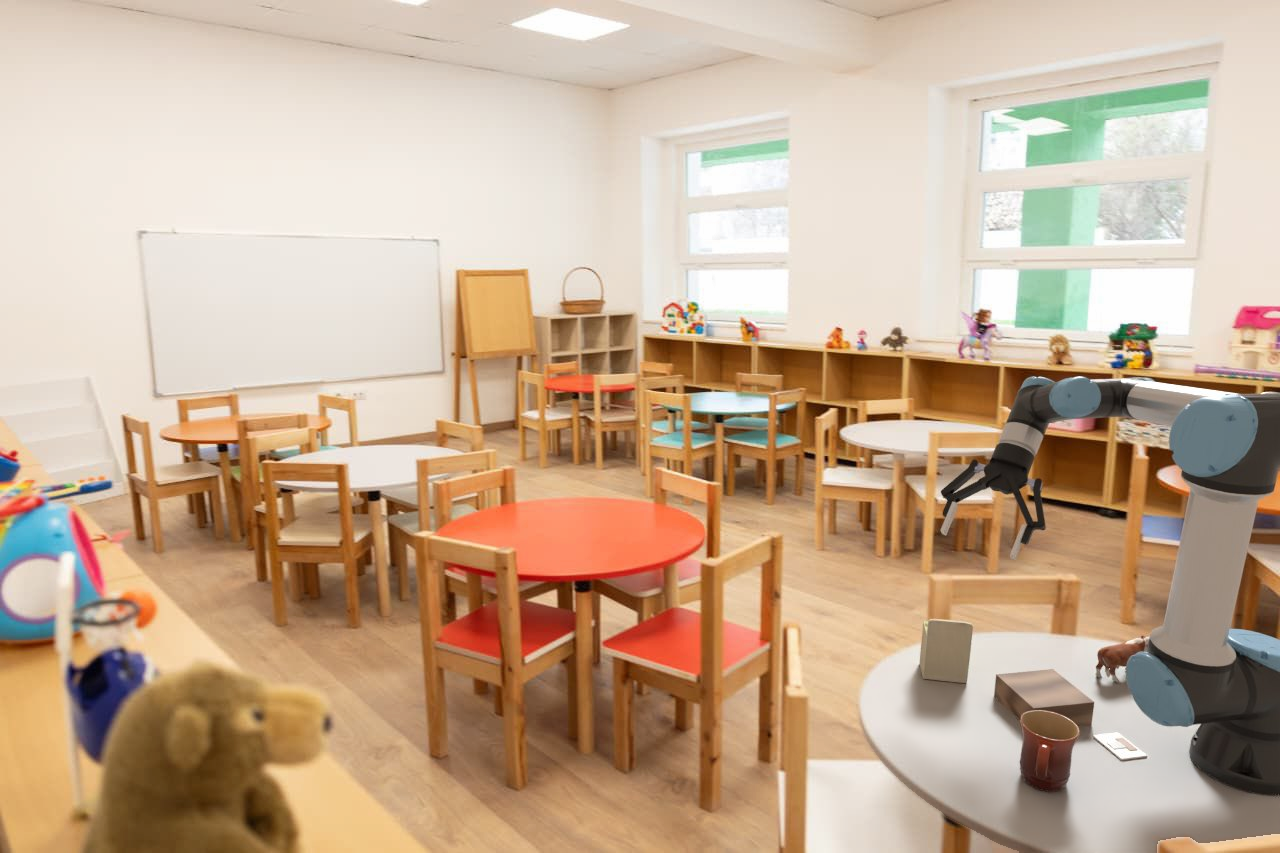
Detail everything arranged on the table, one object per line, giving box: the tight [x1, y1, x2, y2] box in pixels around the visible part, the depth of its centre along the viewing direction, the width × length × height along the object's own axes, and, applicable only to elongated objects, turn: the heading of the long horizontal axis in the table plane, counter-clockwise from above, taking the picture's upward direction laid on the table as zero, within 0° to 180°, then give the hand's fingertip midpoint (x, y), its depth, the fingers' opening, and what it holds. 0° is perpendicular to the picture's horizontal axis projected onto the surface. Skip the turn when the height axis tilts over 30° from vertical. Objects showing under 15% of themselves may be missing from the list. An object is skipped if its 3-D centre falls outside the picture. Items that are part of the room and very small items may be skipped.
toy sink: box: [919, 618, 974, 684], centre depth 172 cm, size 8×7×13 cm
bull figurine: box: [1095, 635, 1150, 683], centre depth 171 cm, size 4×13×8 cm, turn 103°
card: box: [1092, 731, 1148, 761], centre depth 148 cm, size 7×5×1 cm
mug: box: [1019, 710, 1081, 793], centre depth 137 cm, size 12×9×10 cm
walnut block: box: [993, 668, 1095, 727], centre depth 159 cm, size 12×12×5 cm
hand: (977, 545), depth 167 cm, fingers open, 13 cm apart
